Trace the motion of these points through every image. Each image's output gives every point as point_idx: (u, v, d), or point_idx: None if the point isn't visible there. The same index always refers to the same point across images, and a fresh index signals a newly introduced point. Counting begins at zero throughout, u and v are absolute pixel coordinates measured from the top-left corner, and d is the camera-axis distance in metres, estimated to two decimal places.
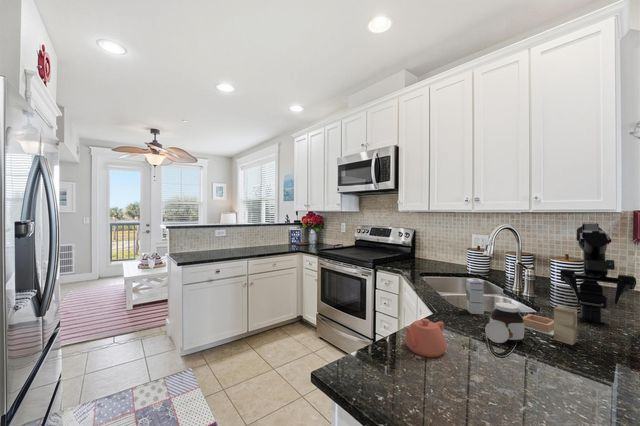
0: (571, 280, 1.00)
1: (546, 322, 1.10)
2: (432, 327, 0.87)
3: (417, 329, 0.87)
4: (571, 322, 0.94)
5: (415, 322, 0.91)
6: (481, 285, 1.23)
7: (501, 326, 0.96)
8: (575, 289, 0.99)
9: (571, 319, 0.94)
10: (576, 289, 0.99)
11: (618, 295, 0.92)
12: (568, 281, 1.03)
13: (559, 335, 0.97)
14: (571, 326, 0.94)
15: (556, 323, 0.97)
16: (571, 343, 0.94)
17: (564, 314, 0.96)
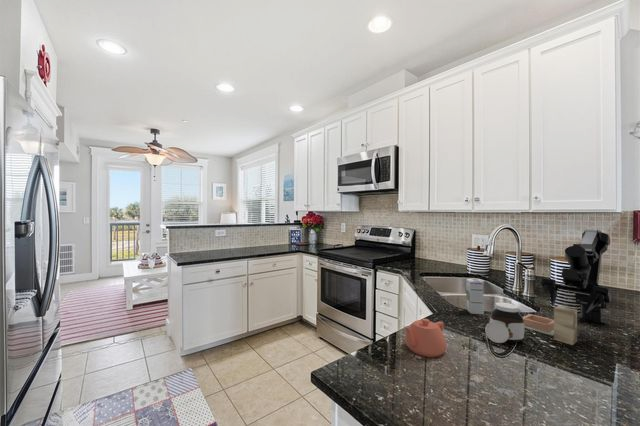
0: (549, 288, 1.06)
1: (546, 322, 1.10)
2: (432, 327, 0.87)
3: (417, 329, 0.87)
4: (571, 322, 0.94)
5: (415, 322, 0.91)
6: (481, 285, 1.23)
7: (501, 326, 0.96)
8: (551, 296, 1.04)
9: (571, 319, 0.94)
10: (552, 296, 1.04)
11: (589, 303, 0.96)
12: (548, 290, 1.08)
13: (559, 335, 0.97)
14: (571, 326, 0.94)
15: (556, 323, 0.97)
16: (571, 343, 0.94)
17: (564, 314, 0.96)
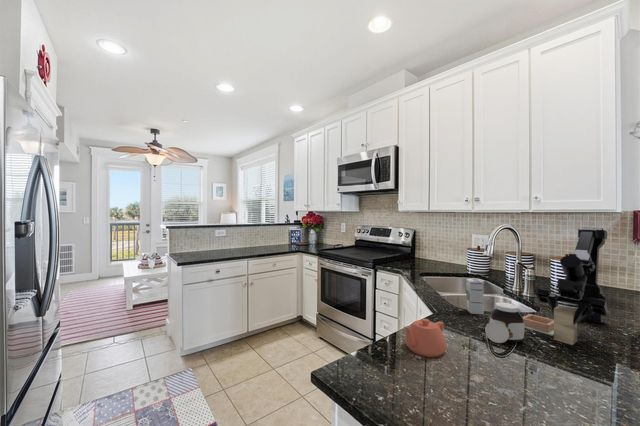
0: (551, 300, 1.02)
1: (546, 322, 1.10)
2: (432, 327, 0.87)
3: (417, 329, 0.87)
4: (571, 322, 0.94)
5: (415, 322, 0.91)
6: (481, 285, 1.23)
7: (501, 326, 0.96)
8: (553, 309, 1.00)
9: (571, 319, 0.94)
10: None
11: (577, 314, 0.95)
12: (550, 302, 1.04)
13: (559, 335, 0.97)
14: (571, 326, 0.94)
15: (556, 323, 0.97)
16: (571, 343, 0.94)
17: (564, 314, 0.96)
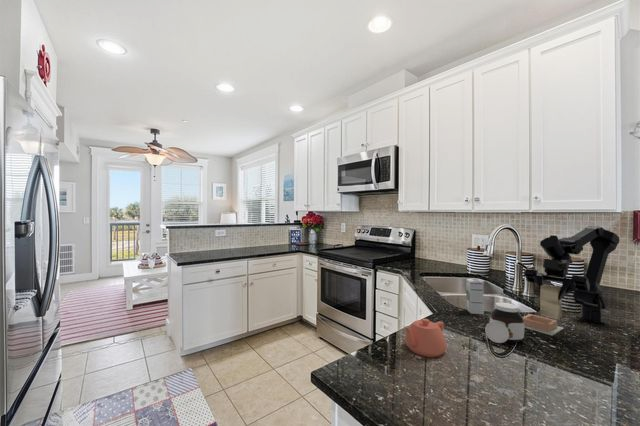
0: (537, 279, 1.08)
1: (546, 322, 1.10)
2: (432, 327, 0.87)
3: (417, 329, 0.87)
4: (556, 298, 1.01)
5: (415, 322, 0.91)
6: (481, 285, 1.23)
7: (501, 326, 0.96)
8: None
9: (556, 295, 1.01)
10: None
11: (562, 291, 1.01)
12: (537, 281, 1.10)
13: (545, 311, 1.03)
14: (556, 302, 1.01)
15: (542, 300, 1.04)
16: (556, 318, 1.01)
17: (549, 291, 1.02)
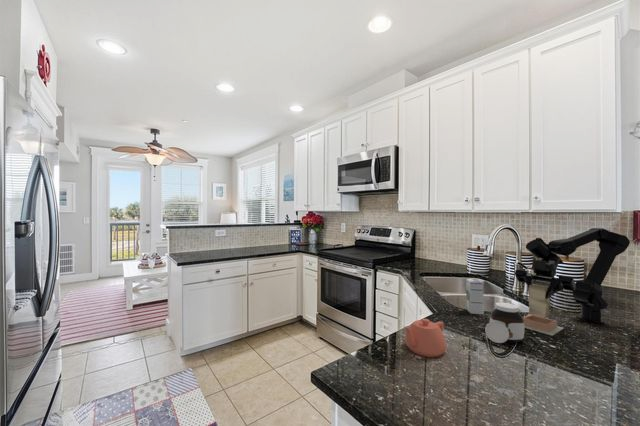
0: (527, 279, 1.14)
1: (546, 322, 1.10)
2: (432, 327, 0.87)
3: (417, 329, 0.87)
4: (543, 297, 1.06)
5: (415, 322, 0.91)
6: (481, 285, 1.23)
7: (501, 326, 0.96)
8: None
9: (543, 294, 1.06)
10: None
11: (549, 290, 1.07)
12: (527, 281, 1.16)
13: (533, 309, 1.09)
14: (543, 300, 1.06)
15: (531, 298, 1.10)
16: (543, 315, 1.06)
17: (537, 290, 1.08)
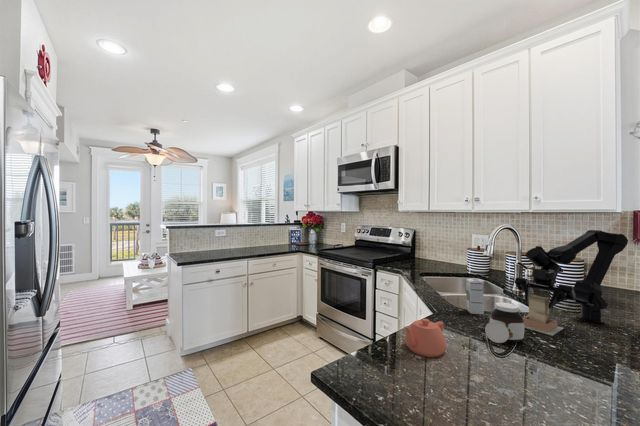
0: (524, 287, 1.15)
1: None
2: (432, 327, 0.87)
3: (417, 329, 0.87)
4: (543, 309, 1.06)
5: (415, 322, 0.91)
6: (481, 285, 1.23)
7: (501, 326, 0.96)
8: (525, 294, 1.13)
9: (543, 306, 1.06)
10: (526, 294, 1.13)
11: (552, 300, 1.06)
12: (524, 289, 1.17)
13: None
14: (543, 312, 1.06)
15: (531, 310, 1.10)
16: None
17: (537, 302, 1.08)
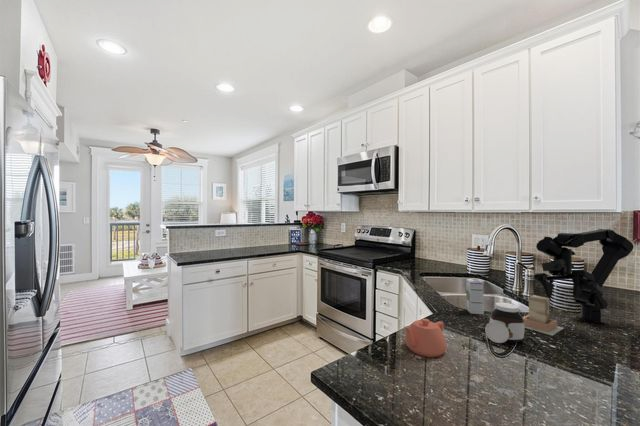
0: (541, 282, 1.16)
1: None
2: (432, 327, 0.87)
3: (417, 329, 0.87)
4: (543, 309, 1.06)
5: (415, 322, 0.91)
6: (481, 285, 1.23)
7: (501, 326, 0.96)
8: (545, 290, 1.14)
9: (543, 306, 1.06)
10: (546, 289, 1.14)
11: (574, 289, 1.05)
12: None
13: None
14: (543, 312, 1.06)
15: (531, 310, 1.10)
16: None
17: (537, 302, 1.08)
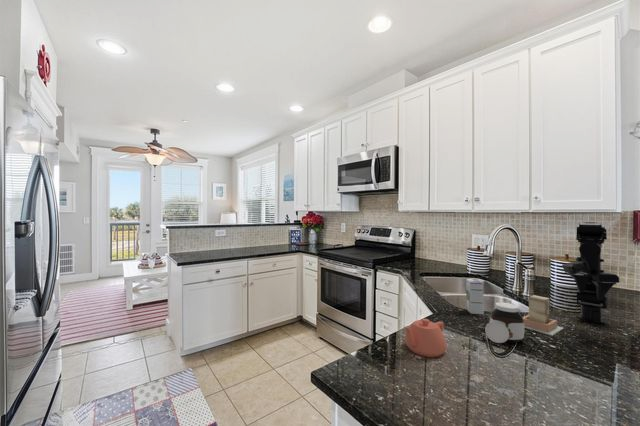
0: None
1: None
2: (432, 327, 0.87)
3: (417, 329, 0.87)
4: (543, 309, 1.06)
5: (415, 322, 0.91)
6: (481, 285, 1.23)
7: (501, 326, 0.96)
8: (577, 284, 1.13)
9: (543, 306, 1.06)
10: (577, 285, 1.12)
11: (597, 291, 1.02)
12: None
13: None
14: (543, 312, 1.06)
15: (531, 310, 1.10)
16: None
17: (537, 302, 1.08)
